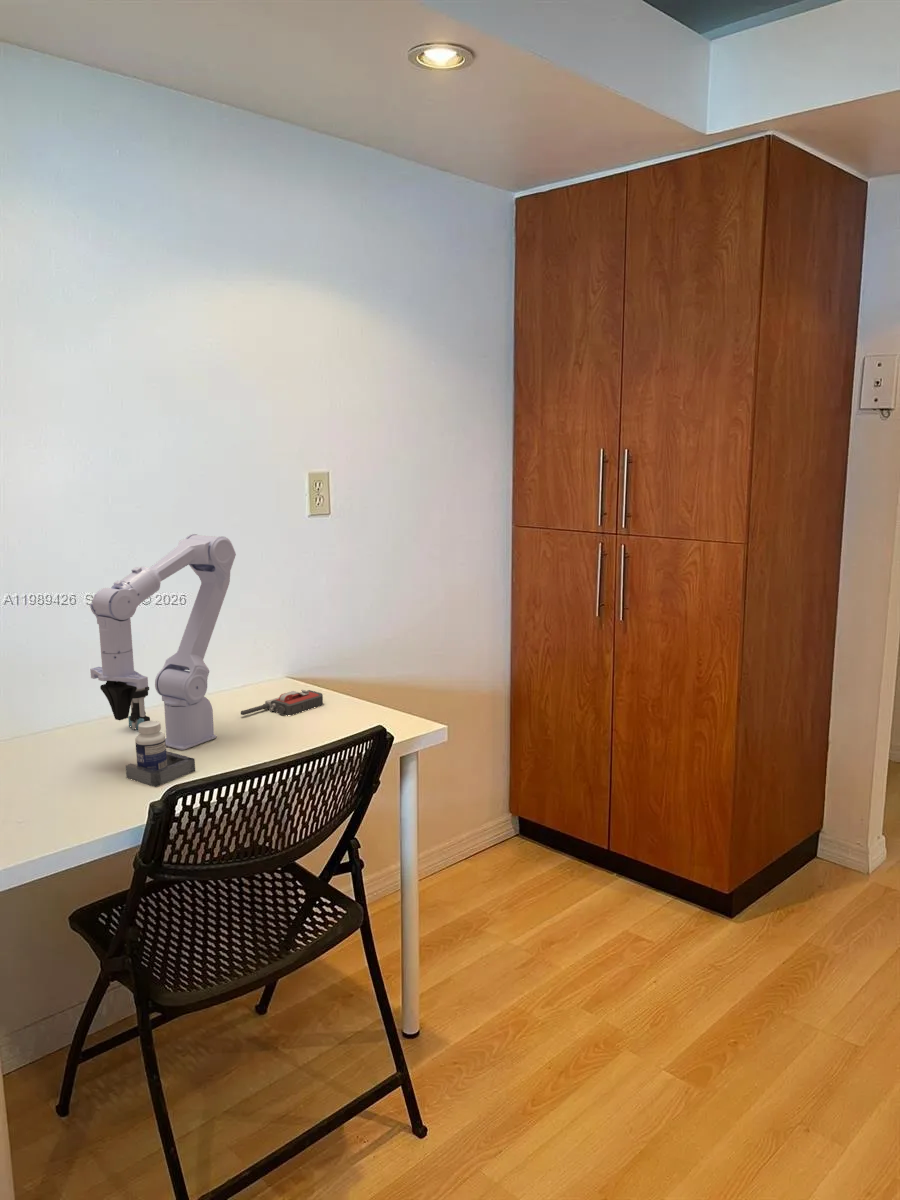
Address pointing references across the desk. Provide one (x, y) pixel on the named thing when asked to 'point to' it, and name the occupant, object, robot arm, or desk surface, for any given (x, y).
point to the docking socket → (162, 770)
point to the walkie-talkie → (290, 703)
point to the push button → (138, 708)
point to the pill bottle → (151, 746)
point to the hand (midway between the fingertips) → (121, 718)
